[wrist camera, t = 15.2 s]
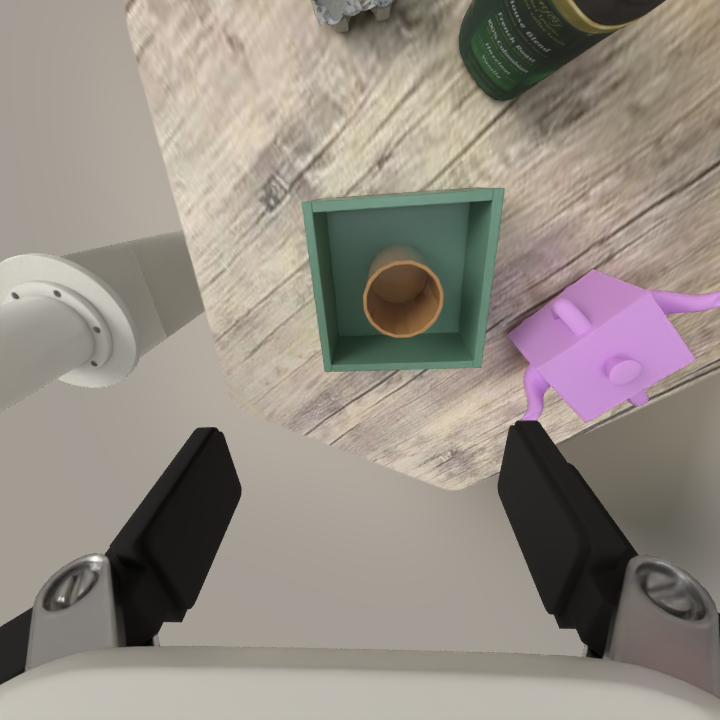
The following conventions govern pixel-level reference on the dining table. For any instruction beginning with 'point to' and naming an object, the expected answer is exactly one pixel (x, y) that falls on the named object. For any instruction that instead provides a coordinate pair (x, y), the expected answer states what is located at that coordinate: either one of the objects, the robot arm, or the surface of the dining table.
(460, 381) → the dining table surface
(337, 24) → the egg carton
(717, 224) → the dining table surface
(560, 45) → the coffee jar
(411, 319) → the paper cup
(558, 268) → the dining table surface
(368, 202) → the bin
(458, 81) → the dining table surface
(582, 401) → the teapot
